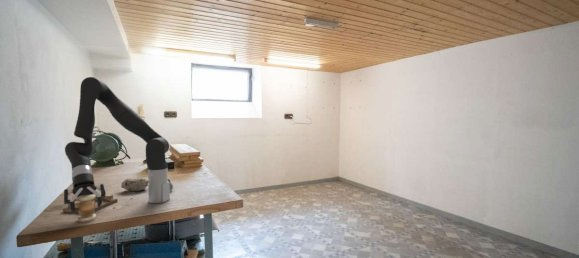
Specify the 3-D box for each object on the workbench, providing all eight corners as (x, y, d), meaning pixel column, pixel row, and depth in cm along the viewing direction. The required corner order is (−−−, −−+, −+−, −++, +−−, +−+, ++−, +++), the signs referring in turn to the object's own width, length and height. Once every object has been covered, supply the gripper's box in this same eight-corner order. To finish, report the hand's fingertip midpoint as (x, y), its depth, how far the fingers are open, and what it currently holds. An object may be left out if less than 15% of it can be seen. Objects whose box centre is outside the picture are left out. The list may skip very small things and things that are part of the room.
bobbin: (99, 216, 113) (99, 194, 113) (87, 222, 107) (86, 198, 106) (86, 215, 114) (86, 193, 113) (73, 221, 108) (73, 198, 107)
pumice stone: (121, 194, 144) (120, 179, 144) (121, 193, 153) (120, 179, 154) (149, 189, 151) (148, 176, 152) (148, 188, 161) (147, 176, 162)
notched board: (117, 201, 133) (117, 194, 132) (90, 213, 117) (90, 204, 116) (92, 200, 134) (92, 193, 134) (62, 211, 118) (62, 203, 118)
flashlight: (160, 186, 162) (160, 178, 162) (170, 185, 165) (170, 177, 165) (163, 192, 149) (162, 183, 149) (173, 191, 152) (173, 182, 152)
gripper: (62, 175, 110) (65, 208, 102) (102, 170, 120) (108, 200, 112) (62, 184, 114) (64, 217, 106) (101, 179, 124) (106, 208, 116)
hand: (86, 208), depth 109 cm, fingers open, 8 cm apart
